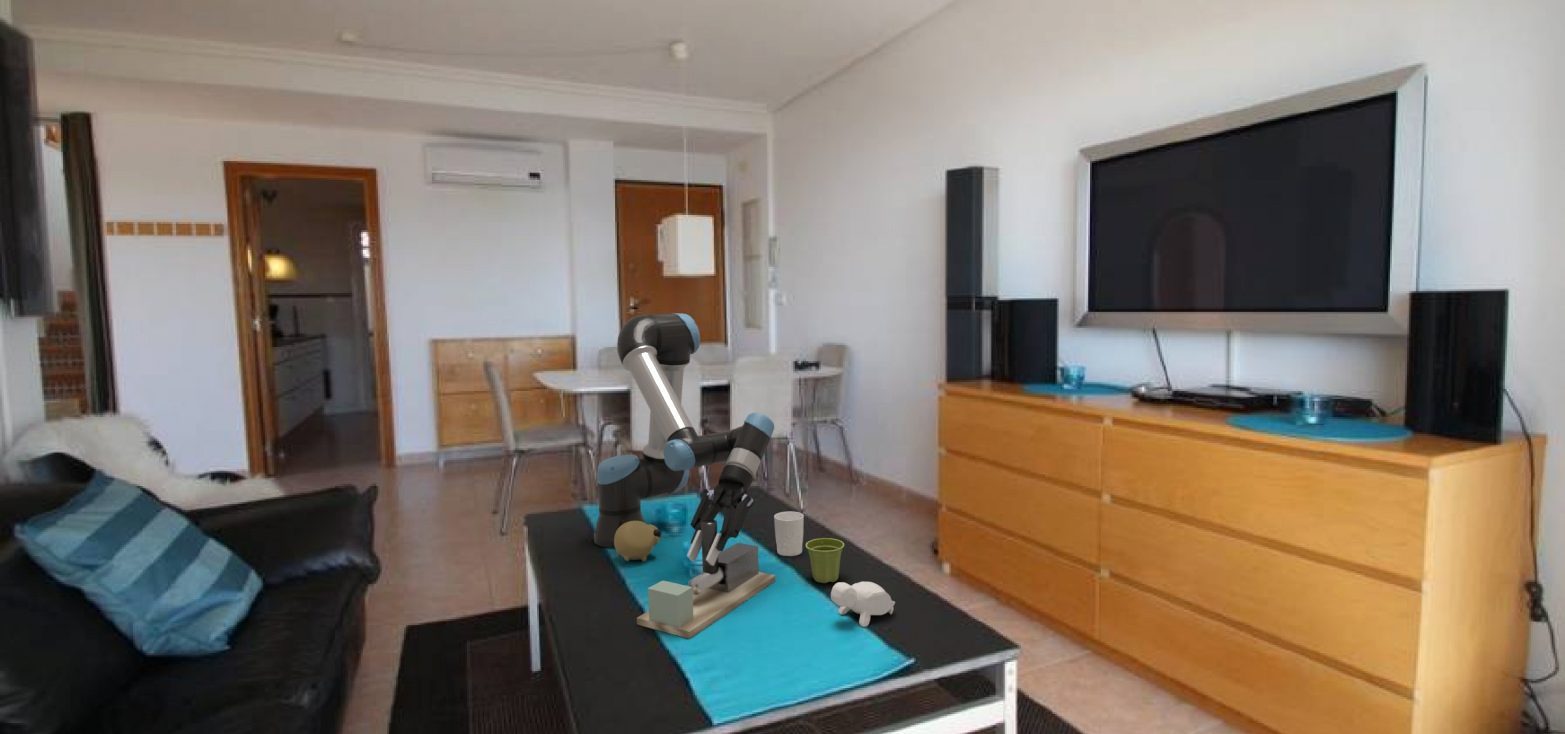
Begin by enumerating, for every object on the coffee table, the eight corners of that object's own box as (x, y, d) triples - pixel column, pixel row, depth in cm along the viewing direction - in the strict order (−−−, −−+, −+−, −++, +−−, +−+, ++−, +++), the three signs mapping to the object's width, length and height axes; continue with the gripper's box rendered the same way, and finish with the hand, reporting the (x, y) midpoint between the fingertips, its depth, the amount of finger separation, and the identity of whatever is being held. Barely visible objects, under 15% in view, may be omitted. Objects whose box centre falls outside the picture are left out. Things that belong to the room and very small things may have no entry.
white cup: (804, 557, 201) (803, 520, 200) (774, 557, 201) (773, 520, 200) (804, 546, 209) (803, 511, 207) (775, 547, 209) (774, 511, 208)
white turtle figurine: (866, 617, 171) (816, 609, 163) (876, 580, 172) (827, 570, 164) (892, 631, 164) (841, 623, 156) (902, 592, 165) (852, 583, 157)
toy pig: (666, 559, 201) (665, 520, 200) (624, 570, 194) (622, 529, 193) (651, 549, 209) (649, 511, 208) (609, 559, 203) (607, 520, 201)
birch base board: (637, 624, 163) (636, 617, 163) (727, 571, 192) (727, 565, 192) (689, 638, 156) (689, 631, 156) (775, 581, 185) (775, 575, 185)
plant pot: (799, 582, 184) (798, 547, 183) (816, 569, 192) (815, 535, 191) (835, 588, 180) (834, 553, 179) (850, 574, 188) (850, 540, 187)
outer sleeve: (707, 588, 178) (706, 559, 177) (738, 569, 189) (738, 542, 188) (728, 592, 175) (727, 563, 174) (758, 573, 186) (758, 546, 185)
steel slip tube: (688, 593, 170) (686, 528, 168) (740, 562, 187) (738, 504, 186) (701, 596, 168) (699, 530, 166) (752, 565, 185) (750, 506, 184)
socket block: (649, 619, 162) (647, 588, 161) (664, 610, 166) (662, 580, 165) (679, 627, 158) (677, 595, 157) (693, 618, 162) (692, 587, 161)
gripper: (776, 484, 180) (739, 575, 168) (716, 476, 189) (676, 561, 177) (764, 467, 175) (725, 559, 163) (702, 459, 184) (661, 546, 172)
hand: (700, 560), depth 170 cm, fingers open, 4 cm apart
